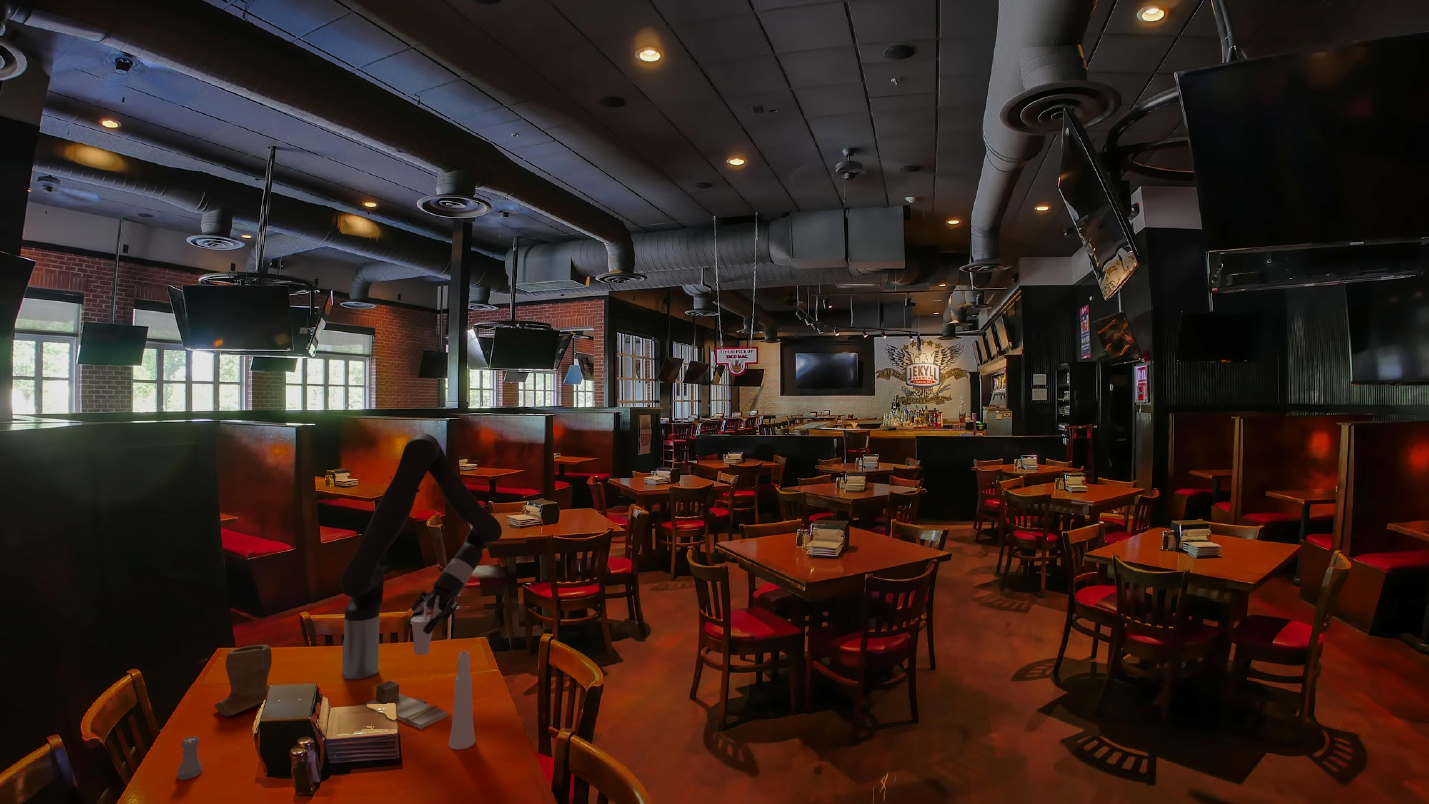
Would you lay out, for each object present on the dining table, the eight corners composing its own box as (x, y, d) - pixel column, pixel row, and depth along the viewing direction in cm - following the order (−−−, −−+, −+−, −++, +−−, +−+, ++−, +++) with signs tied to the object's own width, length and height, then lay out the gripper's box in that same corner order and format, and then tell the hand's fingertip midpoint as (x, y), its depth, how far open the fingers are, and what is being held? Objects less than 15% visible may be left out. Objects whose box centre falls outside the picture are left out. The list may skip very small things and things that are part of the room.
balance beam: (363, 708, 178) (364, 689, 178) (396, 694, 186) (396, 676, 186) (417, 730, 167) (418, 710, 167) (449, 715, 175) (450, 695, 175)
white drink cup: (425, 658, 184) (426, 607, 183) (404, 655, 185) (406, 605, 185) (439, 649, 190) (440, 600, 190) (418, 646, 191) (420, 598, 191)
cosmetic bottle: (445, 741, 162) (447, 651, 162) (470, 734, 166) (472, 646, 166) (452, 752, 157) (454, 660, 157) (478, 745, 161) (480, 654, 161)
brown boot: (257, 689, 187) (258, 636, 187) (288, 697, 183) (289, 642, 183) (199, 713, 173) (200, 655, 173) (231, 722, 169) (232, 663, 169)
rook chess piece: (186, 769, 148) (186, 733, 148) (207, 769, 148) (207, 733, 148) (171, 781, 143) (171, 744, 143) (193, 780, 144) (194, 743, 144)
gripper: (430, 567, 197) (392, 618, 187) (463, 575, 190) (426, 628, 180) (444, 580, 202) (408, 631, 192) (478, 589, 195) (442, 642, 185)
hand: (417, 629), depth 186 cm, fingers closed on white drink cup, 6 cm apart
